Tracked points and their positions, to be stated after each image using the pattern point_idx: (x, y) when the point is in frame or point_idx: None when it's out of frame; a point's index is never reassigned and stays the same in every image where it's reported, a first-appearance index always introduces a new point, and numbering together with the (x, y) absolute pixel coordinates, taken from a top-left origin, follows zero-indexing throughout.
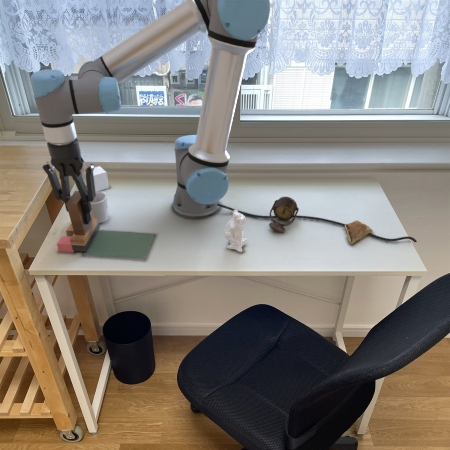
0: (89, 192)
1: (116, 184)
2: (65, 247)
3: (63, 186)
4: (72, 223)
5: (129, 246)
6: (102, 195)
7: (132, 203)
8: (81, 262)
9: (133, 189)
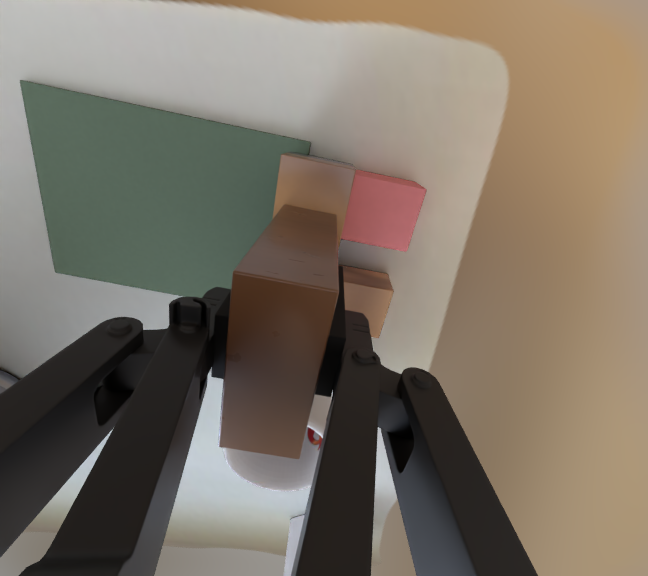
0: (65, 376)
1: (273, 530)
2: (385, 178)
3: (348, 476)
4: (331, 230)
5: (123, 191)
6: (250, 467)
7: (201, 448)
8: (308, 87)
9: (217, 506)
